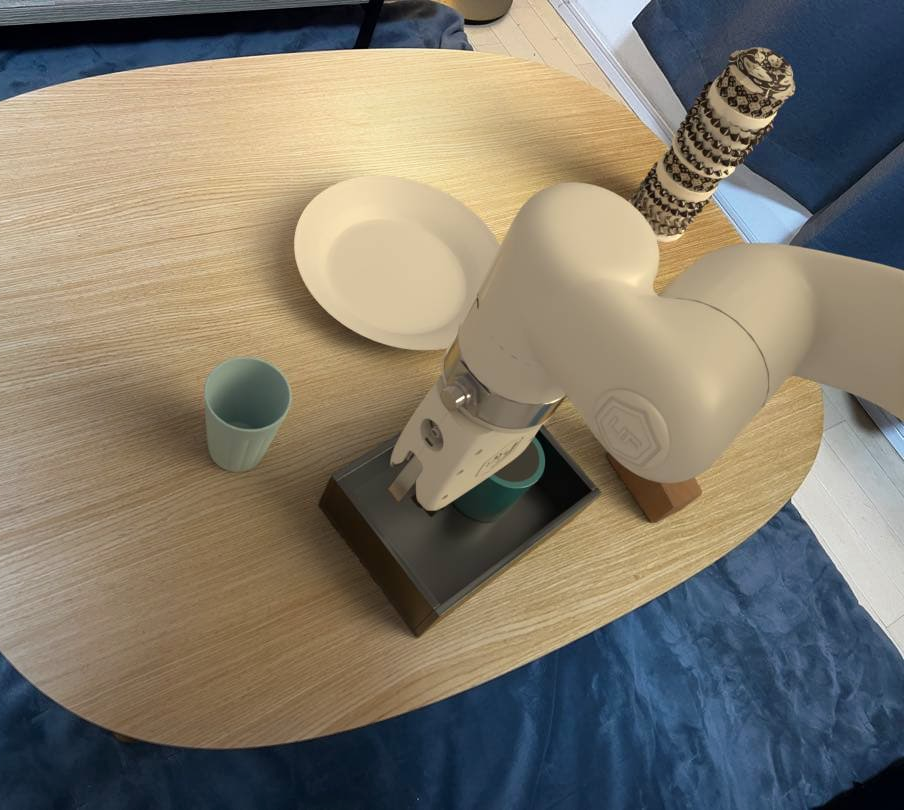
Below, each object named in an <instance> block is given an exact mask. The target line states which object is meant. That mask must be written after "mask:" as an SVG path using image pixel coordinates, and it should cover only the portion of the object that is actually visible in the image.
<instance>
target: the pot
mask: <svg viewBox="0 0 904 810" xmlns="http://www.w3.org/2000/svg"><path fill="white" fill-rule="evenodd" d="M544 467H545V457H544V452H543V449H542V447H541V445H540V443H539V442H538V440H537V439H536V438H535V437H534V438H533V439H532V441H531V442H530V443H529V445H528V446H527V447H526V449H525V450H524V451H523V452H522V453H521V454H520V455H519V456H517V457H516V458H515V459H514V460H512V461H511V462H510V463H508V464H507V465H505V466H504V467H503V468H501V469H500V470H498V471H497V472H495V473H494V474H493V475H491V476H490V477H488V478H487V479H485V480H484V481H482V482H481V483H479V484H478V485H476V486H475V487H473V488H472V489H470V490H469V491H467V492H466V493H464V494H463V495H461V496H460V497H458V498H457V499H455V500H454V501H453V503H454V505H455V506H456V507H457V508H458V509H459V510H460V511H461V512H462V513H463V514H464V515H466V516H467V517H469V518H471V519H474V520H477V521H482V522H492V521H496V520H499V519H501V518H502V517H504V516H505V515H506V514H507V513H508V512H509V511H510V510H511V509H512V508H513V507H514V506H515V504H516V503H517V502H518V501H519V500H520V499H521V498H522V497H523V496H524V495H525V494H526V493H527V492H528V490H529V489H530V488H531V487H532V486H533V485H534V484H535V483H536V482H537V481H538V480H539V478H540V477H541V475H542V473H543V471H544Z"/></svg>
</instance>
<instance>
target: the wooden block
mask: <svg viewBox="0 0 904 810" xmlns="http://www.w3.org/2000/svg"><path fill="white" fill-rule="evenodd" d="M605 456H606V459H607V460H608V461H609V463H610V464H611V466H612V467H613V468H614V470H615V471H616V473H617V475H618V476H619V478H620V479H621V481H622V482H623V483H624V484H625V486H626V488H627V489H628V490H629V492H630V493H631V495H632V497H633V498H634V500H635V501H636V502H637V504H638V505H639V506H640V508H641V510H642V511H643V512H644V514H645V516H646V517H647V518H648V520H649V521H650V522H651V523H652V524H656V523H659V522H660V521H662V520H664V519H666V518H669V517H670V516H672V515H674V514H676V513H678V512H680V511H682V510H683V509H685V508H686V507H688V505H690V504H691V503H693V502H694V501H696V499H698V498H700V497H701V496H702V494H703V490H702V488H701V486H700V484H699V483H698V481H697V479H696V477H694V478H692V479H689V480H687V481H683V482H677V483H660V482H655V481H651V480H648V479H645V478H643V477H641V476H639V475H637V474H635V473H633V472H631V471H630V470H629V469H627V468H626V467H624V466H623V465H622V464H620V463H619V462H618V461H617V460H616V459H615V458H614V457H613V456H612V455H611V454H610V453H609V452H608V451H607V452H606V453H605Z"/></svg>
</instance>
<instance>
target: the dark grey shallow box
mask: <svg viewBox="0 0 904 810" xmlns="http://www.w3.org/2000/svg"><path fill="white" fill-rule="evenodd" d="M402 432H403V431H401V432H399V433H398V434H396V435H394V436H393V437H391V438H389V439H388V440H386V441H384V442H383V443H380V444H379V445H378V446H376V447H374V448H373V449H371V450H369V451H367V452H366V453H364V454H363V455H361V456H359V457H358V458H356V459H354V460H352V461H351V462H350V463H348V464H346V465H344V466H343V467H341V468H339V469H338V470H336V471H333V473H331V474H330V476H329V479H328V481H327V483H326V486H325V487H324V490H323V492H322V494H321V497H320V499H319V501H318V503H317V506H318V508H320V510H321V512H323V514H324V515H325V517H326V518H327V519H328V521H329V522H330V523H331V525H332V526H333V528H334V529H335V530H336V532H337V533H338V534H339V535H340V537H341V538H342V539H343V541H344V542H345V543H346V545H347V546H348V547H349V549H350V550H351V552H352V553H353V554H354V556H355V557H356V558H357V560H358V561H359V562H360V564H361V565H362V566H363V568H364V569H365V570H366V572H367V573H368V574H369V576H370V577H371V578H372V580H373V581H374V582H375V584H376V585H377V587H378V588H379V589H380V591H381V592H382V594H384V596H385V597H386V598H387V600H388V602H389V603H390V604H391V606H392V607H393V608H394V609H395V611H396V612H397V614H399V616H400V617H401V618H402V620H403V621H404V623H405V624H406V625H407V627H408V628H409V629H410V631H411V632H412V634H413V635H414V637H416V639H419V638H422V636H423V635H425V634H426V633H427V632H428V631H430V630H431V629H432V628H434V627H435V626H437V625H438V624H439V623H440V622H441V621H443V620H445V619H446V618H447V617H448V616H449V615H451V614H452V613H453V612H454V611H456V610H458V609H459V608H460V607H461V606H463V605H464V604H465V603H467V602H468V601H469V600H470V599H472V598H473V597H475V596H476V595H477V594H478V593H480V592H481V591H482V590H484V589H485V588H487V587H488V586H489V585H491V584H492V583H493V582H495V581H496V580H497V579H498V578H500V577H501V576H502V575H503V574H505V573H507V571H509V570H510V569H511V568H512V567H514V566H515V565H516V564H518V563H519V562H521V561H522V560H523V559H524V558H525V557H527V556H529V554H531V553H532V552H533V551H535V550H536V549H537V548H539V547H540V546H542V545H543V544H544V543H545V542H547V541H548V540H549V539H551V538H552V537H554V536H555V535H556V534H557V533H558V532H560V531H561V530H562V529H563V528H565V527H566V526H568V525H569V524H570V523H572V522H574V520H575V519H576V518H578V517H579V515H581V514H582V513H583V512H584V511H585V510H587V508H588V507H590V505H592V504H593V503H594V502H595V501H596V500H598V498H599V497H601V496H602V495H603V492H602V491H601V489H600V488H599V487H598V486H597V484H595V483H594V481H593V480H592V479H591V478H590V477H589V475H587V473H586V472H585V471H584V470H583V469H582V467H581V466H580V465H579V464H578V463H577V462H576V460H574V458H572V456H571V455H570V454H569V453H568V452H567V450H566V449H565V448H564V447H563V446H562V445H561V444H560V442H559V441H558V440H557V438H555V436H554V435H553V434H552V433H551V432H550V431H549V430H548V429H547V428H546V426H545V424H543V425H542V426H541V427H540V429H539V430H538V432H537V433H536V435H535V436H534V437H535V438H536V439H537V440H538V442H539V443H540V445H541V447H542V449H543V452H544V457H545V467H544V471H543V473H542V475H541V477H540V478H539V480H538V481H537V482H536V483H535V484H534V485H533V486H532V487H531V488H530V489H529V490H528V492H527V493H526V494H525V495H524V496H523V497H522V498H521V499H520V500H519V501H518V502H517V503H516V504H515V506H514V507H513V508H512V509H511V510H510V511H509V512H508V513H507V514H506V515H505V516H504V517H502V518H501V519H499V520H496V521H492V522H482V521H477V520H474V519H471V518H469V517H467V516H466V515H464V514H463V513H462V512H461V511H460V510H459V509H458V508H457V507H456V506H455V505H454V503H453V501H452V502H451V503H450V504H449V505H448V506H447V507H446V508H444V509H443V510H439V512H438V513H437V514H436V515H434V516H433V517H430V516H429V515H428V514H427V513H426V512H425V510H424V509H423V508H419V507H418V506H417V505H416V504H415V503H414V502H413V501H412V499H411V497H410V498H408V499H406V500H404V501H403V502H401V503H399V502H398V501H397V500H396V499H395V497H394V496H393V495H392V494H391V492H390V491H389V490H388V489H389V487H390V486H391V485H392V483H393V482H394V481H395V479H396V478H397V477H398V475H399V474H400V473H401V471H402V470H403V469H404V468H405V466H406V465H407V464H408V462H409V461H407V462H405V463H404V464H402V465H401V466H399V467H397V468H396V467H395V466H394V467H391V464H390V462H391V455H392V452H393V450H394V447H395V445H396V443H397V441H398V439H399V437H400V435H401V433H402Z"/></svg>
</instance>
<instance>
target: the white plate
mask: <svg viewBox="0 0 904 810" xmlns="http://www.w3.org/2000/svg"><path fill="white" fill-rule="evenodd" d="M295 227H296V228H295V232H294V238H293V239H294V240H293V251H294V257H295V262H296V266H297V269H298V272H299V275H300V277H301V279H302V280H303V282H304V283H303V284H304V285H305V287H306V288H307V289H308V292H309V293H310V294H311V295H312V297H313V298H314V299H315V301H316V302H317V303H318V304H319V305H320V306H321V307H322V308H323V309H324V310H325V311H326V312H327V313H328V315H330V316H332V317H333V318H334V319H335V320H337V321H338V322H339V323H341V324H342V325H343V326H345V327H346V328H348V329H349V330H351V331H353V332H355V333H357V334H358V335H360V336H362V337H365V338H367V339H370V340H371V341H373V342H376V343H379V344H383V345H386V346H390V347H394V348H399V349H405V350H412V351H436V350H443V349H444V350H445V349H448V347H449V345H450V343H451V341H452V339H453V337H454V335H455V333H456V331H457V329H458V327H459V325H460V324H461V321H462V319H463V318H464V316H465V314H466V312H467V310H468V308H469V306H470V304H471V302H472V300H473V298H474V296H475V294H476V292H477V290H478V288H479V286H480V284H481V282H482V280H483V278H484V276H485V274H486V272H487V270H488V269H489V267H490V265H491V263H492V261H493V259H494V257H495V255H496V253H497V251H498V249H499V247H500V245H501V243H500V241H498V239H497V237H496V236H495V234H494V232H493V231H492V230H491V229H490V227H489V226H488V225H487V224H486V222H485V221H484V220H483V219H482V218H481V217H480V216H479V215H478V214H477V213H476V212H475V211H474V210H472V209H471V208H470V207H469V206H467V205H466V204H465V203H464V202H462V201H461V200H459V199H458V198H456V197H454V195H451V194H449V193H448V192H446V191H444V190H442V189H439V188H437V187H436V186H433V185H430V184H427V183H425V182H422V181H419V180H416V179H412V178H407V177H401V176H395V175H394V176H393V175H365V176H359V177H353V178H350V179H349V178H348V179H346V180H343V181H340V182H337V183H335V184H333V185H330V186H329V187H327V188H326V189H324V190H322V191H321V192H320V193H318V194H317V195H316V196H315V197H314V198H312V200H311V201H309V203H308V204H307V205H306V207H305V208H304V210H303V211H302V213H301V215H300V217H299V219H298V222H297V225H296V226H295Z"/></svg>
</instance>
